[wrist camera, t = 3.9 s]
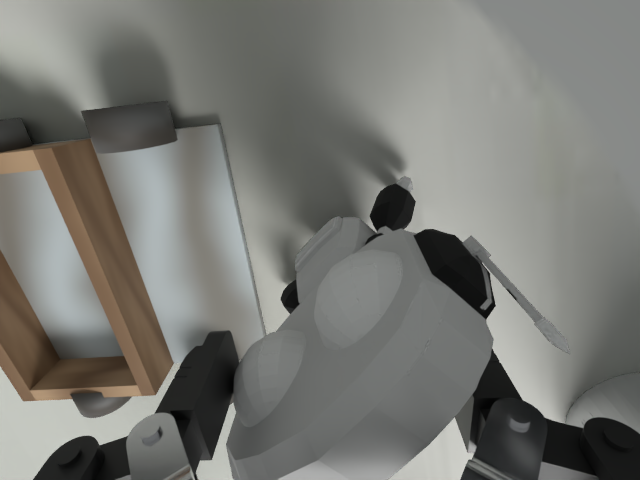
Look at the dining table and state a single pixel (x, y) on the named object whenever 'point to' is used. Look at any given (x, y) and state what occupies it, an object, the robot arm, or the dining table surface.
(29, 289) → the chassis
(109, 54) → the dining table surface
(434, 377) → the robot toy
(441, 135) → the dining table surface
